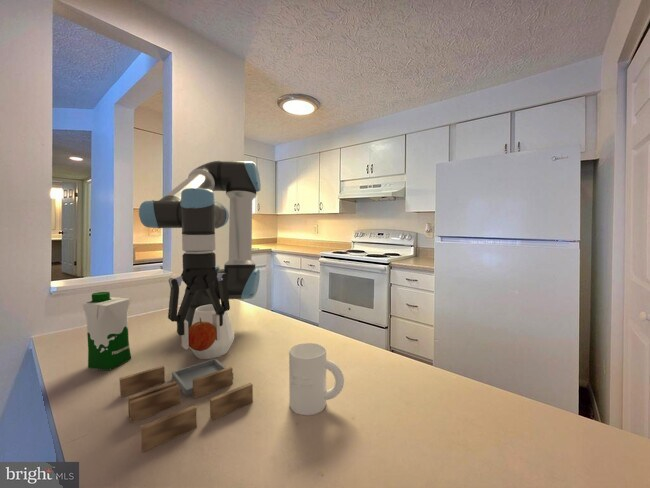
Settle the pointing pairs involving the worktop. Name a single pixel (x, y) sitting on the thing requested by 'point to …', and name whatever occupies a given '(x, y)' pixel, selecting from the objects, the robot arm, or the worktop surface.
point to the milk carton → (107, 331)
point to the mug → (311, 378)
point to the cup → (225, 333)
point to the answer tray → (195, 374)
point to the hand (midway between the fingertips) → (201, 342)
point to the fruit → (201, 335)
